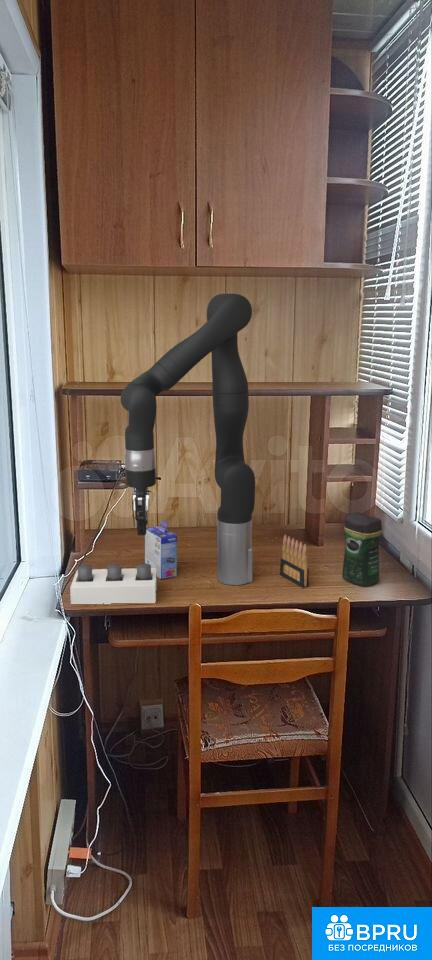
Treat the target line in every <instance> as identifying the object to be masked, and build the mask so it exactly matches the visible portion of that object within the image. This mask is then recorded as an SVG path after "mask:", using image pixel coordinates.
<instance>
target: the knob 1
mask: <svg viewBox="0 0 432 960" xmlns="http://www.w3.org/2000/svg"><path fill="white" fill-rule="evenodd" d="M92 569H93V566H92V565H90V564H82V565H79V566H77V570H78V582H93V578H92Z"/></svg>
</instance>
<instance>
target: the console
mask: <svg viewBox="0 0 432 960" xmlns="http://www.w3.org/2000/svg"><path fill="white" fill-rule="evenodd" d="M73 576H74V577H73V579H72V582H71V583H70V587H69V590H70V591H69V592H70V593H69V594H70V605H71V604H103V603H104V604H111V603H155V602H156V603H157V593H156V591H157V589H158V577H157V568H151V580H137V567H136V568H133V567H132V568H122V581H108V573H107V568H102V569H101V568H98V569H96V568H95V569H93V568H92V578H93V582H78V569H76V570H75V574H74V575H73Z"/></svg>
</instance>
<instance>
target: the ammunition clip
mask: <svg viewBox="0 0 432 960" xmlns="http://www.w3.org/2000/svg"><path fill="white" fill-rule="evenodd" d="M279 561H280V564H279V566H280V567H279V576H281V577H282V578H284V579H287V580H288V581H289V582H291V583H293V584H295V585H297V586H298V587H301V589H304V588H308V587H309V580H310V579H309V578H310V577H309V575H310V573H309V570H310V569H309V567H308V548H307V544H306V543H304V544H303V542H302V541H300V542H299V540H298V539H296V540H295V538H294V537H292V538H291V536H290V535H288V537H287V535H286V533H285V534H284V535H283V540H282V548H281V557H280V560H279Z"/></svg>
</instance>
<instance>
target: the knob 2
mask: <svg viewBox="0 0 432 960" xmlns="http://www.w3.org/2000/svg"><path fill="white" fill-rule="evenodd" d="M136 568H137V580H151V565H150V564H146V563H145V562H144V563H139V564H137V565H136Z"/></svg>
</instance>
